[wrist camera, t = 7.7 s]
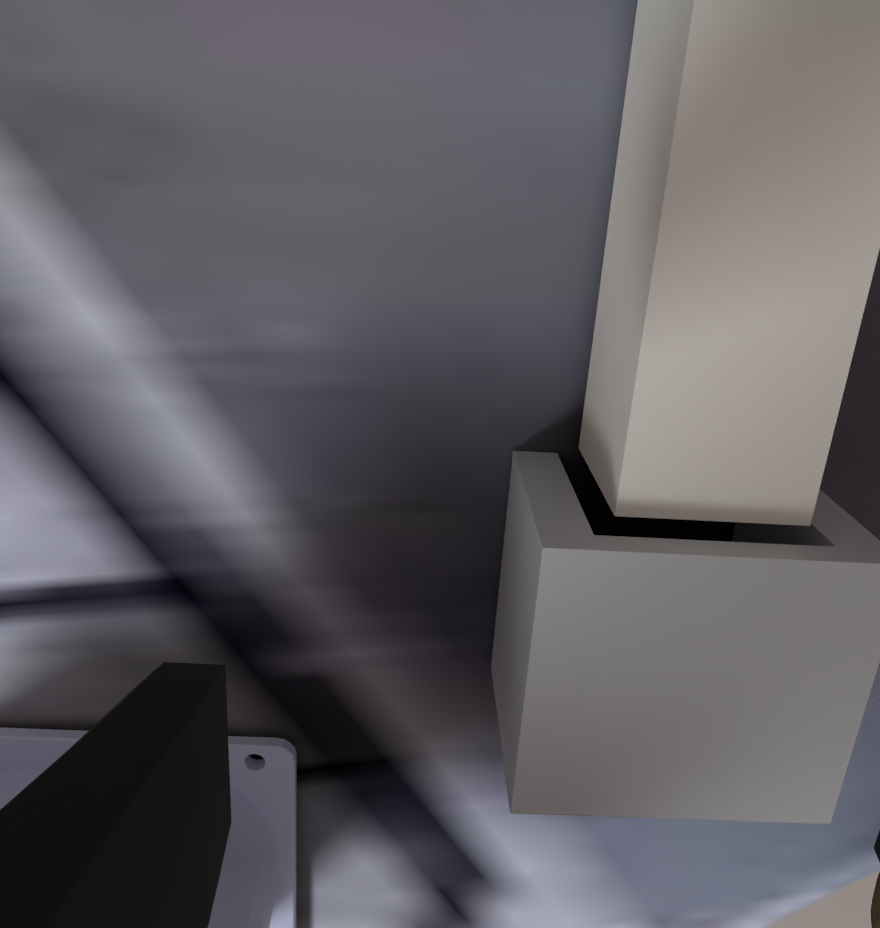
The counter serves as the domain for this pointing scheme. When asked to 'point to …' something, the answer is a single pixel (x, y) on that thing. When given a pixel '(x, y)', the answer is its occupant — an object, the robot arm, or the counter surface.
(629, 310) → the white bar teal band
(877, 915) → the potato
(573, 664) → the sleeve
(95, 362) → the counter surface
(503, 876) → the counter surface
